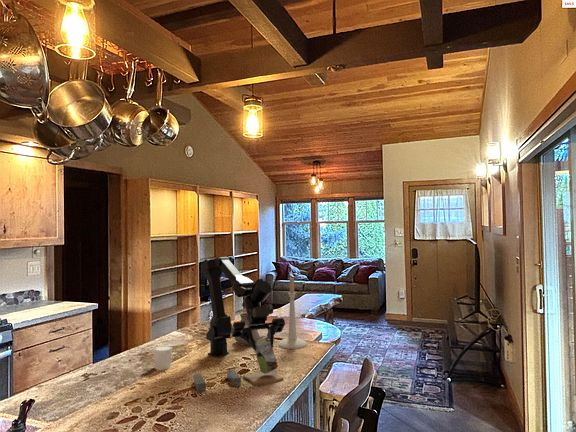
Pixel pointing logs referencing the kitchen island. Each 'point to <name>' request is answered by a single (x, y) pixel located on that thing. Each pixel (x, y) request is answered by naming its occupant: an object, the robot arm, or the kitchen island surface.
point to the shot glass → (162, 357)
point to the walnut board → (262, 378)
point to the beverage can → (265, 355)
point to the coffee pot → (254, 332)
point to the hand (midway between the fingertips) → (263, 348)
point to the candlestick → (292, 325)
